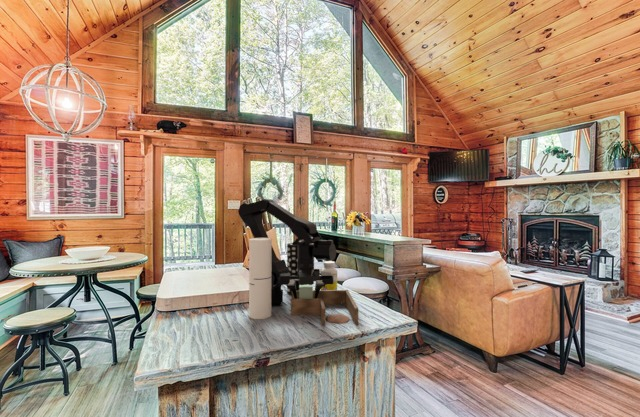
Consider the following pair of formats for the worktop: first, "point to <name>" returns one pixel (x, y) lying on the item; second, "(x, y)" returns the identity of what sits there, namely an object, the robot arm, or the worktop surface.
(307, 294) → the block
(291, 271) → the white-spotted black cylinder
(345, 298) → the channel
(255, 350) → the worktop surface
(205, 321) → the worktop surface
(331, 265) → the supplement bottle
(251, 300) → the cylindrical container
